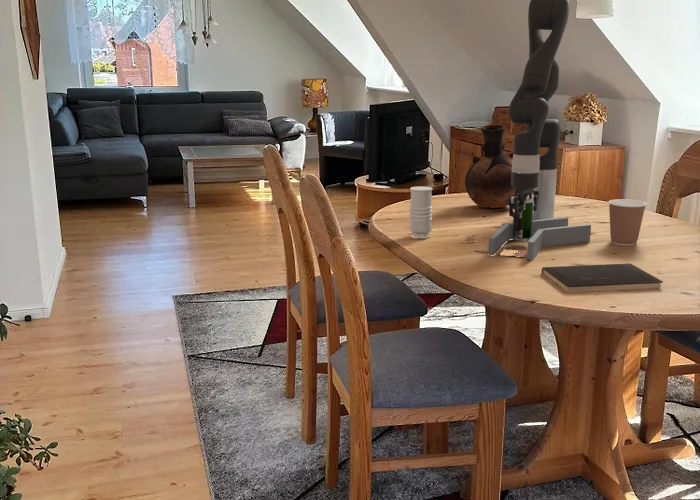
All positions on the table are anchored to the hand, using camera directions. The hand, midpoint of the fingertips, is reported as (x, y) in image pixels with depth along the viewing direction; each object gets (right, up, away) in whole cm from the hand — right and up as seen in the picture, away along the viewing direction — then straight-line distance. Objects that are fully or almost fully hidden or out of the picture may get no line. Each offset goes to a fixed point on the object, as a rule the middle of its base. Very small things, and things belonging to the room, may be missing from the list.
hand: (522, 228), depth 203 cm
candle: (-28, -2, +13) cm, 31 cm away
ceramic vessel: (+3, +9, +55) cm, 56 cm away
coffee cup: (+30, -4, +3) cm, 31 cm away
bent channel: (+4, -5, -1) cm, 7 cm away
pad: (-4, -7, -7) cm, 11 cm away
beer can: (0, -3, +1) cm, 3 cm away
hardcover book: (+11, -14, -32) cm, 37 cm away
